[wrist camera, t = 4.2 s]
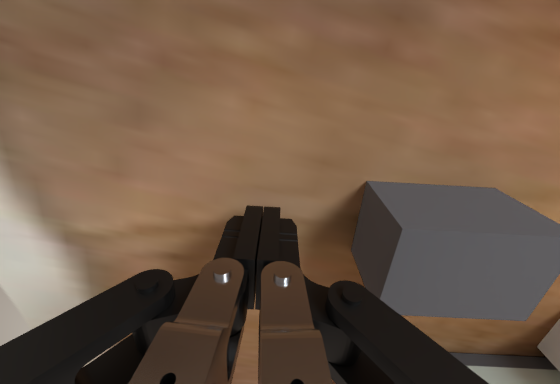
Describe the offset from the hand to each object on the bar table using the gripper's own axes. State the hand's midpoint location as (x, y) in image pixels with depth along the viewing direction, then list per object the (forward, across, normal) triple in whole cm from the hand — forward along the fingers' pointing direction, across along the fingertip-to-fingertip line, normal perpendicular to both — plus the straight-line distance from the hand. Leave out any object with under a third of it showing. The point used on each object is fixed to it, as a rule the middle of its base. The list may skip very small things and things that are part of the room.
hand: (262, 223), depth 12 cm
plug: (+1, -8, 0) cm, 8 cm away
